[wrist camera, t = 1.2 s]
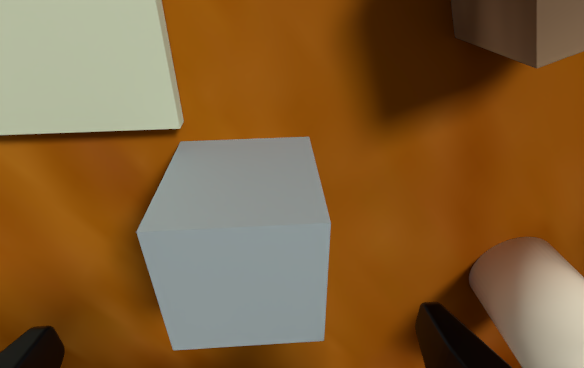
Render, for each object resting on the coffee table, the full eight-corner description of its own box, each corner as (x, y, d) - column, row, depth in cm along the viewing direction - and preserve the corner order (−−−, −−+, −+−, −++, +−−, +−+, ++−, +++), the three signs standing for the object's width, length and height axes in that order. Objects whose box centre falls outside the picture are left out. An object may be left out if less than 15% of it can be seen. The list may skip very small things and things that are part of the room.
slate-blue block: (307, 234, 15) (323, 340, 11) (200, 239, 15) (172, 350, 10) (308, 136, 13) (330, 223, 8) (180, 140, 12) (136, 232, 8)
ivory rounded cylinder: (536, 295, 18) (621, 397, 14) (459, 300, 18) (521, 405, 14) (567, 234, 16) (678, 332, 12) (481, 238, 16) (561, 340, 11)
